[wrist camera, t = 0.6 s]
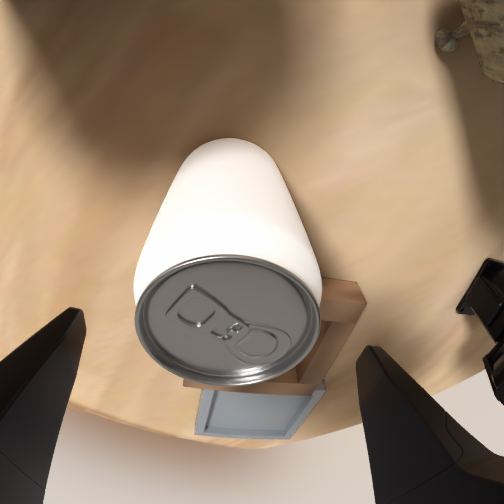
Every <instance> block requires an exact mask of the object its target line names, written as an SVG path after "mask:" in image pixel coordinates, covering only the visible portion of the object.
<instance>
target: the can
mask: <svg viewBox="0 0 504 504" xmlns="http://www.w3.org/2000/svg"><path fill="white" fill-rule="evenodd" d="M321 296H322V280H321V274H320V270H319V266H318V263H317V260H316V257H315V254H314V252H313V249H312V246H311V244H310V241H309V239H308V236H307V234H306V231H305V229H304V226H303V224H302V221H301V219H300V217H299V214H298V212H297V209H296V207H295V205H294V202H293V200H292V198H291V195H290V193H289V191H288V189H287V186H286V184H285V182H284V180H283V177H282V175H281V173H280V171H279V169H278V167H277V165H276V163H275V162H274V160H273V159H272V158H271V157H270V156H269V154H268V153H266V152H265V151H264V150H263V149H262V148H260V147H259V146H257V145H255V144H253V143H251V142H248V141H245V140H241V139H235V138H223V139H217V140H213V141H210V142H207V143H205V144H203V145H201V146H200V147H198V148H197V149H195V150H194V151H193V152H192V153H191V154H190V155H189V156H188V157H187V158H186V159H185V161H184V162H183V164H182V165H181V167H180V169H179V171H178V173H177V174H176V176H175V178H174V180H173V183H172V185H171V187H170V189H169V191H168V193H167V195H166V197H165V199H164V201H163V204H162V206H161V208H160V210H159V212H158V215H157V217H156V219H155V221H154V224H153V226H152V228H151V231H150V233H149V235H148V238H147V240H146V243H145V245H144V248H143V250H142V253H141V255H140V258H139V261H138V264H137V267H136V272H135V277H134V298H135V303H136V311H135V328H136V332H137V335H138V338H139V340H140V342H141V344H142V346H143V347H144V349H145V350H146V352H147V353H148V354H149V355H150V356H151V357H152V358H153V359H154V360H155V361H156V362H157V363H158V364H159V365H161V366H162V367H163V368H165V369H166V370H168V371H170V372H171V373H173V374H175V375H177V376H179V377H182V378H184V379H187V380H190V381H193V382H196V383H200V384H205V385H212V386H223V387H234V386H245V385H251V384H256V383H260V382H264V381H267V380H270V379H273V378H275V377H277V376H280V375H282V374H283V373H285V372H287V371H289V370H290V369H292V368H293V367H295V366H296V365H297V364H298V363H300V362H301V361H302V360H303V359H304V358H305V357H306V356H307V355H308V353H309V352H310V351H311V349H312V348H313V346H314V344H315V342H316V340H317V338H318V335H319V332H320V326H321V315H320V309H319V306H320V302H321Z"/></svg>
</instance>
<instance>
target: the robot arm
mask: <svg viewBox="0 0 504 504" xmlns="http://www.w3.org/2000/svg"><path fill="white" fill-rule="evenodd" d="M456 310H457V312H458V313H459V314H467V315H476V316H477V318H478V319H479V320H480V322H481V323H482V325H483V326H484V328H485V329H486V331H487V332H488V333H489V335H490V336H491V338H492V339H493V341H494V342H495V344H496V345H495V346H494V348H493V349H492V350H491V351H490V352H489V353H488V354H487V355H485V356H484V357H483V362H484V365H485V369H486V371H487V374H488V377H489V380H490V383H491V386H492V389H493V392H494V395H495V397H496V398H497V400H498V401H500V402H501V403H502V404H503V405H504V262H502V261H499V260H495V259H492V258H488V259H486V261H485V262H484V264H483V266H482V267H481V269H480V271H479V273H478V274H477V276H476V278H475V280H474V281H473V283H472V285H471V286H470V288H469V290H468V291H467V293H466V294H465V296H464V298H463V299H462V301H461V302H460V304H459V305H458V307H457V309H456ZM85 336H86V324H85V319H84V313H83V311H82V309H79V308H74V307H69V308H68V309H66V310H65V311H64V312H62V313H61V314H60V315H58V316H57V317H56V318H54V319H53V320H52V321H50V322H49V323H48V324H47V325H45V326H44V327H43V328H41V329H40V330H39V331H38V332H36V333H35V334H34V335H32V336H31V337H30V338H29V339H27V340H26V341H25V342H24V343H22V344H21V345H20V346H19V347H17V348H16V349H15V350H14V351H12V352H11V353H10V354H9V355H8V356H6V357H5V358H4V359H3V360H2V361H0V504H43V500H44V495H45V489H46V484H47V479H48V475H49V470H50V466H51V462H52V458H53V454H54V449H55V446H56V442H57V438H58V434H59V431H60V427H61V424H62V420H63V417H64V414H65V410H66V407H67V404H68V401H69V397H70V394H71V391H72V388H73V385H74V382H75V379H76V375H77V371H78V366H79V361H80V357H81V353H82V349H83V344H84V340H85ZM356 373H357V384H358V395H359V404H360V411H361V416H362V421H363V427H364V432H365V438H366V443H367V450H368V455H369V462H370V468H371V474H372V482H373V489H374V496H375V503H376V504H504V457H503V456H499V455H497V454H494V453H493V452H491V451H490V450H489V449H487V448H486V447H485V446H484V445H483V444H482V443H480V442H479V441H478V440H477V439H476V438H474V437H473V436H472V435H471V434H470V433H469V432H467V431H466V430H465V429H464V428H463V427H462V426H461V425H460V424H459V423H457V422H456V421H455V420H454V419H453V418H452V417H451V416H450V415H449V414H448V413H447V412H446V411H445V410H444V409H443V408H442V407H441V406H440V405H439V404H438V403H437V402H436V401H435V400H434V399H433V398H432V397H431V396H430V395H429V394H428V393H427V392H426V391H425V390H424V389H423V388H422V387H421V386H420V385H419V384H418V383H417V382H416V381H415V380H414V379H413V378H412V377H411V376H410V375H409V374H408V373H407V372H406V371H405V370H404V369H403V368H402V367H401V366H400V365H399V364H398V363H397V362H396V361H395V360H393V359H392V358H391V357H390V356H389V355H388V354H387V353H386V352H385V351H384V350H383V349H382V348H381V347H380V346H378V345H368V346H366V347H365V349H364V350H363V352H362V354H361V355H360V357H359V358H358V360H357V362H356Z"/></svg>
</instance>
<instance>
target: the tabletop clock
mask: <svg viewBox="0 0 504 504" xmlns="http://www.w3.org/2000/svg"><path fill="white" fill-rule="evenodd" d="M458 3H459V5H460V7H461V10H462V12H463V15H464V18H465V20H466V21H465V22H463V23H462V24H461V25H460V26H459V27H458V28H456V29H455V30H454V31H453V32H452V31H450V30H448V29H440V30H439V31H438V32H437V33H436V34H435V43H436V44H437V46H438V48H440V49H441V50H443V51H445V52H453V51H454V50H456V49H457V47H458V38H460V37H462V36H465V35H467V34H469V33H470V34H471V37H472V40H473V43H474V46H475V49H476V52H477V56H478V59H479V62H480V66H481V70H482V73H483V75H485V76H486V77H488V78H490V79H492V80H494V81H497V82H500V83H502V84H504V0H458Z"/></svg>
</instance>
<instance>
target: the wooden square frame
mask: <svg viewBox="0 0 504 504" xmlns="http://www.w3.org/2000/svg"><path fill="white" fill-rule="evenodd" d="M321 280H322V296H321V302H320V306H319V309H320V315H321V326H320V332H319V335H318V338H317V340H316V342H315V344H314V346H313V348H312V349H311V351H310V352H309V353H308V355H307V356H306V357H305V358H304V359H303V360H302V361H301V362H300V363H298V364H297V365H296V366H295V367H293V368H292V369H290V370H289V371H287V372H285V373H283V374H282V375H280V376H277V377H275V378H273V379H270V380H267V381H264V382H260V383H256V384H251V385H245V386H234V387H223V386H212V385H205V384H200V383H196V382H193V381H190V380H187V379H184V381H183V386H184V387H192V388H200V389H209V390H218V391H228V392H240V393H254V394H271V395H298V396H311V395H312V394H313V392H314V391H315V389H316V388H317V386H318V385H319V383H320V382H321V380H322V379H323V377H324V376H325V374H326V372H327V371H328V369H329V368H330V366H331V364H332V363H333V361H334V360H335V358H336V356H337V355H338V353H339V351H340V350H341V348H342V346H343V345H344V343H345V341H346V340H347V338H348V336H349V334H350V333H351V331H352V329H353V328H354V326H355V324H356V322H357V320H358V319H359V317H360V315H361V313H362V311H363V310H364V308H365V306H366V304H367V302H366V300H365V298H364V296H363V294H362V292H361V290H360V288H359V286H358V284H357V282H351V281H344V280H337V279H330V278H323V277H321Z"/></svg>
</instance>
